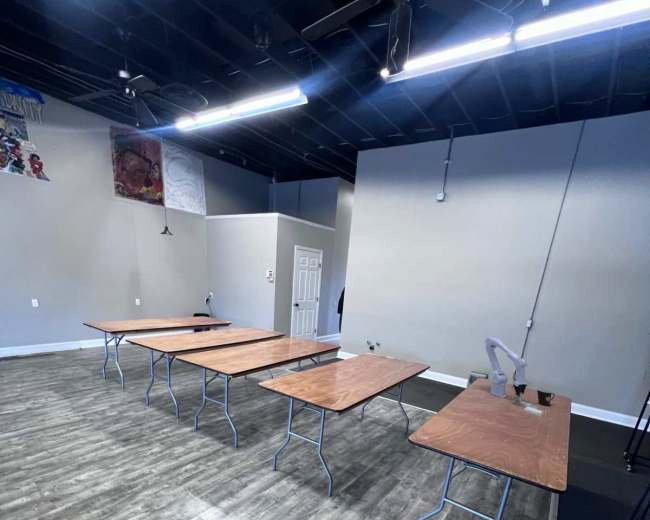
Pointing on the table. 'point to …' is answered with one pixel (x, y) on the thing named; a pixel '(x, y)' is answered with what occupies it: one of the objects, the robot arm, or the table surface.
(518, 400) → the turner
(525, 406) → the mat
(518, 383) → the robot arm
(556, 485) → the table surface
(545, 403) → the coffee mug
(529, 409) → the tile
